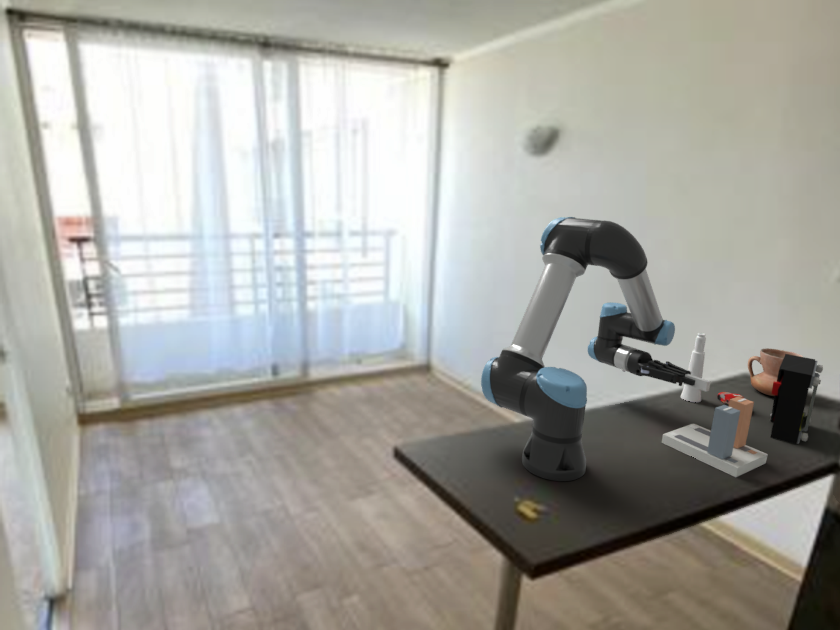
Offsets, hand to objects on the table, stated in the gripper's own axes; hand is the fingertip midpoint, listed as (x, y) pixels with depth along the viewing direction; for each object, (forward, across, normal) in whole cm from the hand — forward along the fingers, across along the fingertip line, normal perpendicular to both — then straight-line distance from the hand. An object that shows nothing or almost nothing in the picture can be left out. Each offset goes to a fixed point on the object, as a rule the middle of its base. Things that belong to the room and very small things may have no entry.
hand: (708, 386), depth 150 cm
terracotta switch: (+10, +1, -12) cm, 16 cm away
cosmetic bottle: (-18, -24, -15) cm, 33 cm away
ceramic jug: (-8, -56, -14) cm, 58 cm away
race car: (-8, -32, -15) cm, 36 cm away
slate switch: (+11, +10, -13) cm, 19 cm away
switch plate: (+7, +5, -15) cm, 17 cm away
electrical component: (+10, -28, -15) cm, 33 cm away
